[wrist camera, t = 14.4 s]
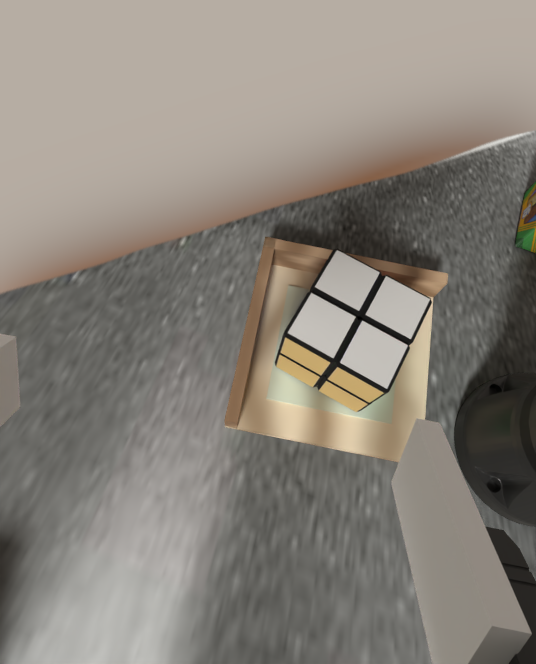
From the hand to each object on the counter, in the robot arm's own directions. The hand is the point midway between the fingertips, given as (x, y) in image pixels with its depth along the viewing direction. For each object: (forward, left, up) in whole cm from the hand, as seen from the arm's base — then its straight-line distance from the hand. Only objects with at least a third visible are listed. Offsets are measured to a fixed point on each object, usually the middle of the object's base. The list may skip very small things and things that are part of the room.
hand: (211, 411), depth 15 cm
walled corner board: (-9, -14, -32) cm, 36 cm away
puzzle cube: (-9, -14, -31) cm, 35 cm away
